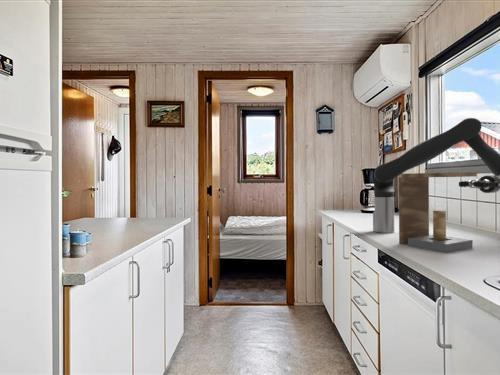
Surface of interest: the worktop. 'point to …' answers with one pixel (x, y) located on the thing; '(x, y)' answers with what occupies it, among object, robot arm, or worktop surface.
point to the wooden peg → (439, 225)
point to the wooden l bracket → (417, 203)
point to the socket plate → (440, 243)
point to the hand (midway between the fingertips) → (470, 184)
